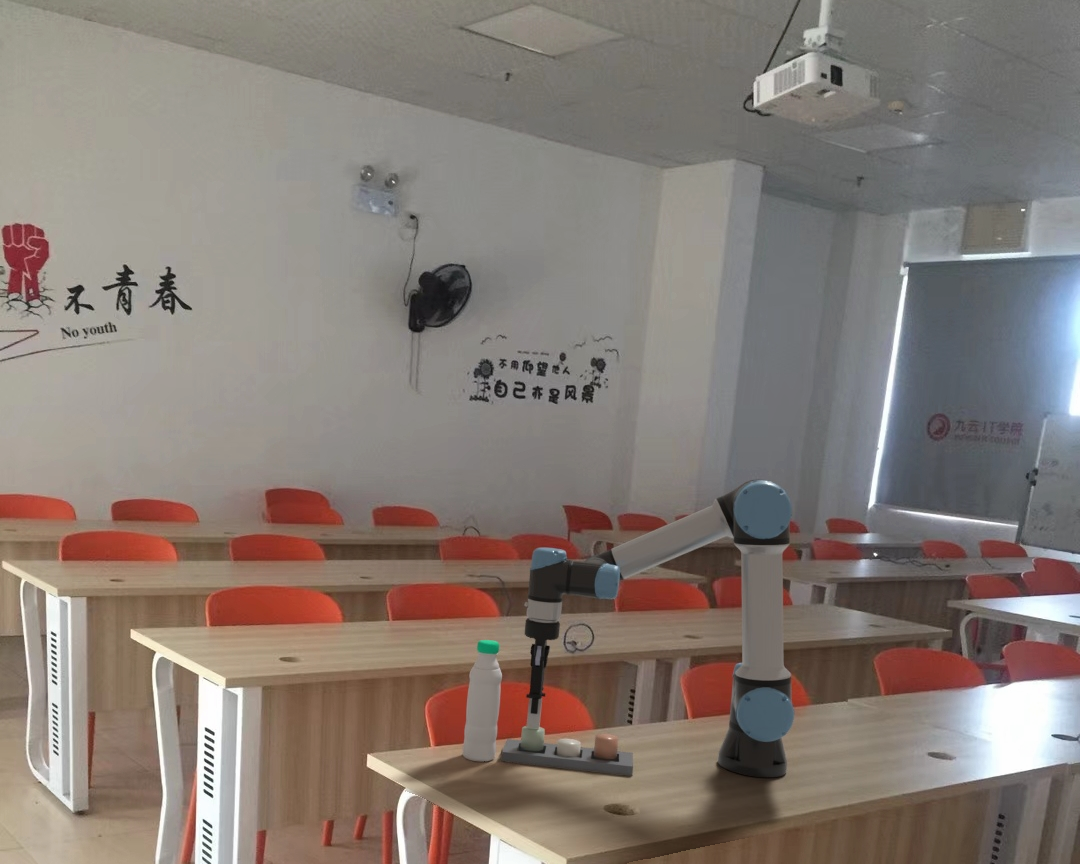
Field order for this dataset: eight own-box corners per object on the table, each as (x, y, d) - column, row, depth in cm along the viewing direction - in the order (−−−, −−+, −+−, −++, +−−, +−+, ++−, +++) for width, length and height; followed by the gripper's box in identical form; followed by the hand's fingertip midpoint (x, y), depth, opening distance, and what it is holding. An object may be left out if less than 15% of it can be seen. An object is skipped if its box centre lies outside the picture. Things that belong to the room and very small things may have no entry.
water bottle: (490, 764, 223) (501, 646, 223) (458, 759, 225) (468, 642, 225) (498, 755, 230) (508, 640, 230) (466, 750, 232) (476, 636, 232)
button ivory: (579, 758, 232) (581, 740, 232) (578, 765, 227) (580, 746, 227) (556, 755, 233) (558, 737, 233) (555, 762, 228) (557, 744, 228)
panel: (631, 761, 234) (632, 752, 234) (632, 775, 224) (633, 766, 224) (506, 747, 236) (507, 738, 236) (501, 761, 226) (501, 751, 226)
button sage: (544, 745, 233) (545, 727, 233) (542, 751, 228) (544, 733, 228) (521, 742, 233) (523, 724, 233) (519, 749, 228) (521, 730, 228)
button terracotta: (616, 753, 232) (618, 735, 232) (616, 760, 227) (618, 741, 227) (594, 750, 232) (595, 732, 232) (593, 757, 227) (595, 739, 227)
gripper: (528, 612, 238) (518, 717, 237) (523, 622, 225) (512, 733, 224) (561, 616, 237) (552, 721, 237) (558, 626, 224) (547, 737, 224)
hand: (532, 727), depth 231 cm, fingers closed
